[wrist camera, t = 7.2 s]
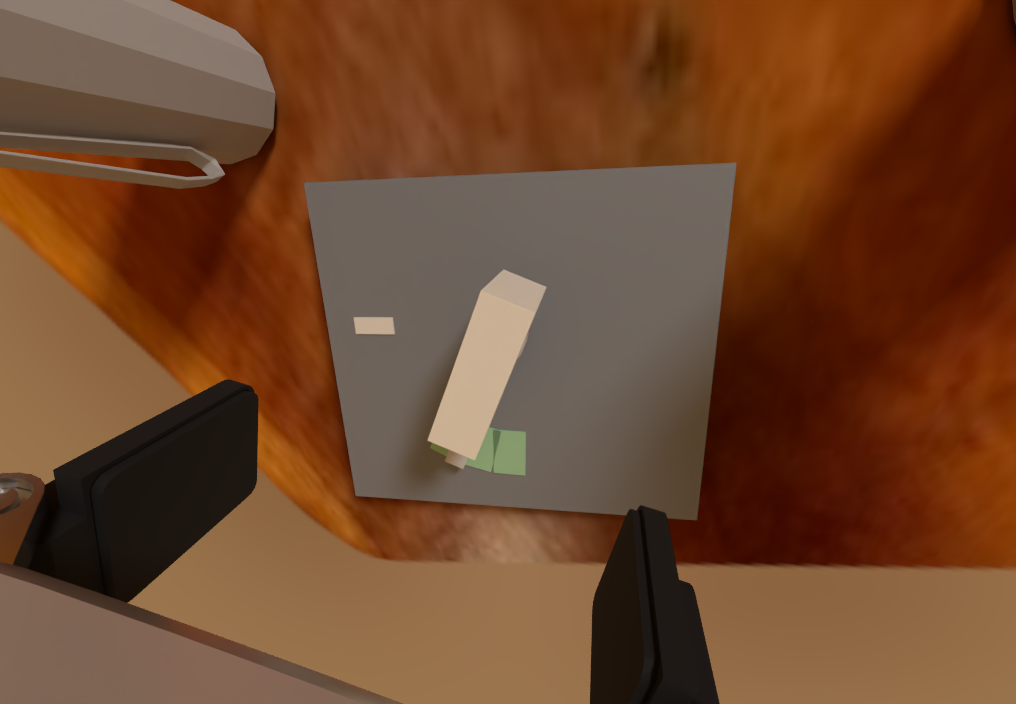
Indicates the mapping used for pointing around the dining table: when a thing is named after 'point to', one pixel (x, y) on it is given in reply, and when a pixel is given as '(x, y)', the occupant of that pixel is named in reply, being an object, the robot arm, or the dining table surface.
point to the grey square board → (553, 336)
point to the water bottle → (128, 88)
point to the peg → (485, 364)
